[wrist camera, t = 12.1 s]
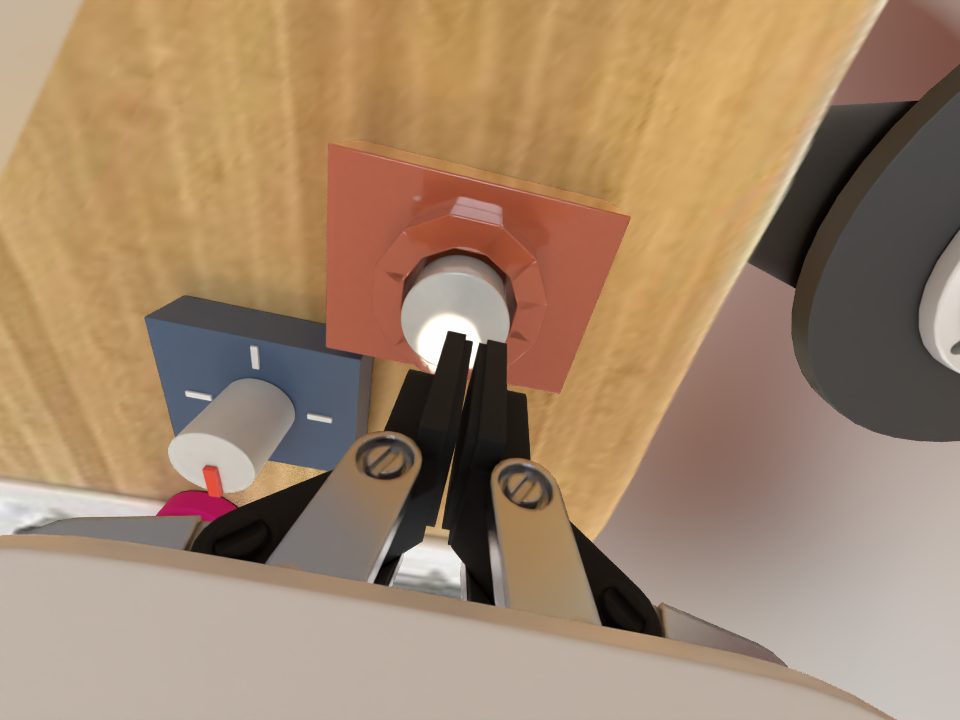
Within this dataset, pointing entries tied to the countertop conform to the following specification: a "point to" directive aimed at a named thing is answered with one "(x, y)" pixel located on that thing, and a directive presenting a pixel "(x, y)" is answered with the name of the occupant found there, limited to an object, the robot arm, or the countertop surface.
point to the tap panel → (263, 373)
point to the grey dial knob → (233, 436)
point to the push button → (455, 306)
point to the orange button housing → (462, 253)
